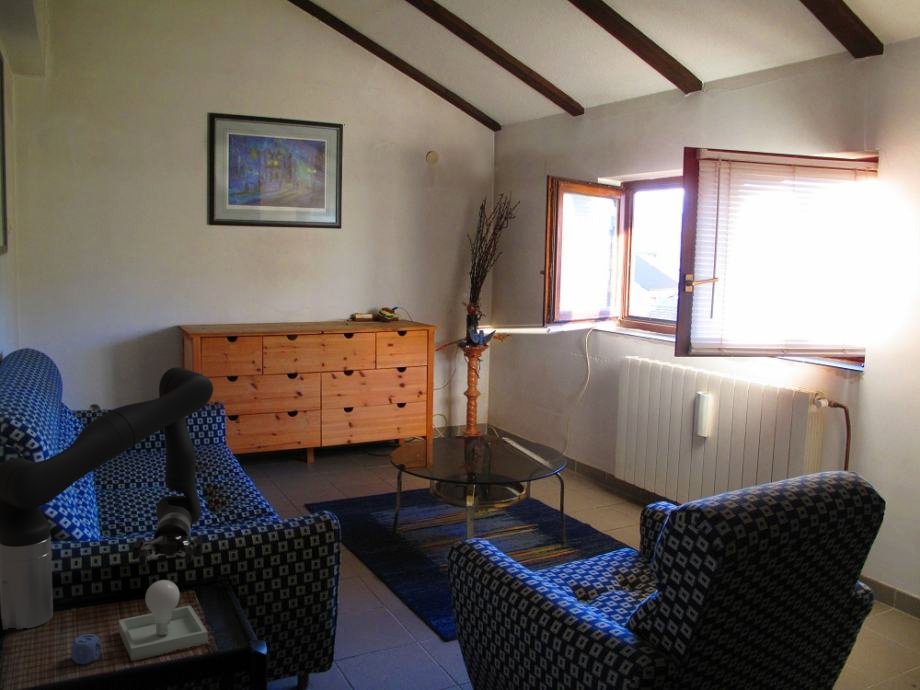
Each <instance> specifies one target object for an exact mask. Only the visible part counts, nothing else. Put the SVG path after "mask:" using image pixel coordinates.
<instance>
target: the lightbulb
mask: <svg viewBox="0 0 920 690" xmlns="http://www.w3.org/2000/svg"><path fill="white" fill-rule="evenodd" d="M180 593H181V592H180V590H179V587H178V586H177V585H176V583H174V582H173V581H171V580H167V579H160V580H158V581H155V582H153V583H151V585H150V586H149V587H148V589H147V590H146V592H145V596H144V601H145V605H146V606H147V609H148V610H149V611H150V612H151V613H153V616H154V620H155V621H156V633H157V634H159V635H165V634H167V633H169V632H170V619H171V616H172V612H173V610H174V609H175V608H177V605H178V603H179V601H180V595H181V594H180Z"/></svg>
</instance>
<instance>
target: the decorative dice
mask: <svg viewBox="0 0 920 690" xmlns="http://www.w3.org/2000/svg"><path fill="white" fill-rule="evenodd" d="M71 646H72V647H71V651H70V652H71V653H70V654H71V658H72V660H73V662H75V663H76V664H79V665H88V664H92V663H94V662H96V661H97V660H98V659H99V657H100V655H101V650H102V641H101V638H100V637H99V636H98V635H96V634H93V633H86V634H80V636H77V637H76V638H75V639H74V640H73V642H72V645H71Z"/></svg>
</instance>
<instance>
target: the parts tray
mask: <svg viewBox="0 0 920 690" xmlns="http://www.w3.org/2000/svg"><path fill="white" fill-rule="evenodd" d="M118 633H119V635H120V638H121V639H122V640H121V641H123V644H124V647H125V649H126V652H127V653H128V656H129V658H130V660H131V662H135V661H139V660H143V659H144V660H145V659H147V658H148V659H149V658H153V657H157V656H161V655H164V654H163V653H166V654H169V653H168V652H170V651H173V650H176V649H179V648H183V647H187V646H194V645H198V644H202V643H206V642H208V635H209V633H208V630H207V629H206V627H205V625H204V623H202V621H201V619H200V618H199V615H197V613H196V611H195V610H194V608H193V607H192V606H191V605H185V606H181V607H175V608H174V610H173V612H172V616H171V619H170V632H169V633H167V634H165V635H159V634H157V633H156V621H155V620H154V616H153V613H152V612H151V613H146V614H142V615H137V616H132V617H128V618H122V619H118ZM208 643H209V642H208ZM170 653H171V652H170ZM160 654H161V655H160ZM156 655H157V656H156Z"/></svg>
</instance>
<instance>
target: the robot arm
mask: <svg viewBox="0 0 920 690" xmlns="http://www.w3.org/2000/svg"><path fill="white" fill-rule="evenodd" d="M158 386H159V387H158V396H159V397H157V398H154V399H150V400H145V401H139V402H135V403H130V404H124V405H122V406H119V407H115V408H114V409H111V410H109V411H108V412H105V413H103V414H102V415H100V416H98V417H97V418H95V419H93V420H92V421H91V422H89V423H88V424H87V425H86V426H85V427H84V428H82V430H81V431H80V433H79V434H78V435H77V437H76V438H75V439H74V441H73V442H72V443H71V444H70V445H69V446H68V447H67V448H65V449H64V450H62V451H60V452H58V453H56V454H55V455H53V456H50V457H48V458H46V459H44V460H42V461H38V462H37V461H34V460H29V459H26V458H22V457H12V458H9V459H7V460H4V461H3V462H2V463H0V616H1V617H0V618H1V619H2V620H1V625H2V630H3V631H5V630H6V631H7V630H9V629H8V628H16V629H15V630H24V629H23V628H27V629H33V628H35V627H38V626H39V627H40V626H41V625H44V624H45V623H48V622H49V621H50V620H52V618H53V616H54V603H53V598H54V597H53V573H52V571H53V570H52V544H51V543H52V542H51V541H52V540H51V539H52V538H51V524H50V522H49V520H48V519H47V517H46V516H45V515H44V514H43V512H42V510H41V507H43V506H46V504H48V503H50V502H51V501H52V500H55V499H56V497H58V496H59V495H60V494H62V493H63V492H65V491H66V490H67V489H69V488H70V487H72V485H73V484H75V483H76V482H77V481H79V480H81V479H82V478H83V477H84V476H86V475H88V474H90V473H92V472H93V471H95V470H96V469H98V468H100V467H101V466H103V465H104V464H106V463H108V462H110V461H111V460H112V459H114V458H116V457H118V456H120V455H122V454H123V453H125V452H127V451H128V450H129V449H132V448H133V447H134V446H136V445H137V444H139V443H140V442H142V441H143V440H145V439H147V438H149V437H150V436H152V435H154V434H155V433H157V432H159V431H161V430H162V429H163V432H164V442H165V473H164V479H165V480H164V484H165V486H166V488H167V489H169V490H171V491H173V492H178V493H181V494H183V495H166V496H164V497H162V498H160V499H159V500H158V502H157V504H156V509H155V511H156V514H155V515H156V519H157V522H158V524H157V525H156V528H155V531H154V534H153V537H152V539H150V540H149V541H145V540H144V538H142V537H141V538H140V537H139V538H137V539H135V542H134V544H133V546H132V549H131V551H132V552H131V553H132V557H131V559H132V560H137V559H138V563H139V564H141V566H146V565H147V562H148V559H155V558H157V557H160V556H167V557H173V556H177V555H178V556H180V558H181V557H182V558H183V557H184V563H185V564H189V562H192V561H193V557H194V556H196V557H202V556H203V546H204V545H203V536H202V535H198V536H196V538H194V539H190V537H191V526H193V525H195V524H196V523H198V522H199V521H200V519H201V516H202V511H203V510H202V505H201V501H200V498H199V497H200V496H199V494H198V490H197V484H196V475H197V473H196V472H197V456H196V449H195V446H194V443H193V440H192V437H191V435H190V432H189V428H188V425H187V422H186V417H188V416H191V415H193V414H194V413H197V412H199V411H200V410H202V409H203V408H204V407H206V405H207V404H208V403H209V402H210V400H211V398H212V397H213V394H214V393H213V392H214V385H213V383H212V380H211V379H210V378H209V377H207V376H205V375H203V374H202V373H199V372H196V371H192V370H190V369H186V368H183V367H178V366H174V367H171V368H169V369H167V371H165V373H163V375H162V376H161V378H160V381H159V385H158Z"/></svg>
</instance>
